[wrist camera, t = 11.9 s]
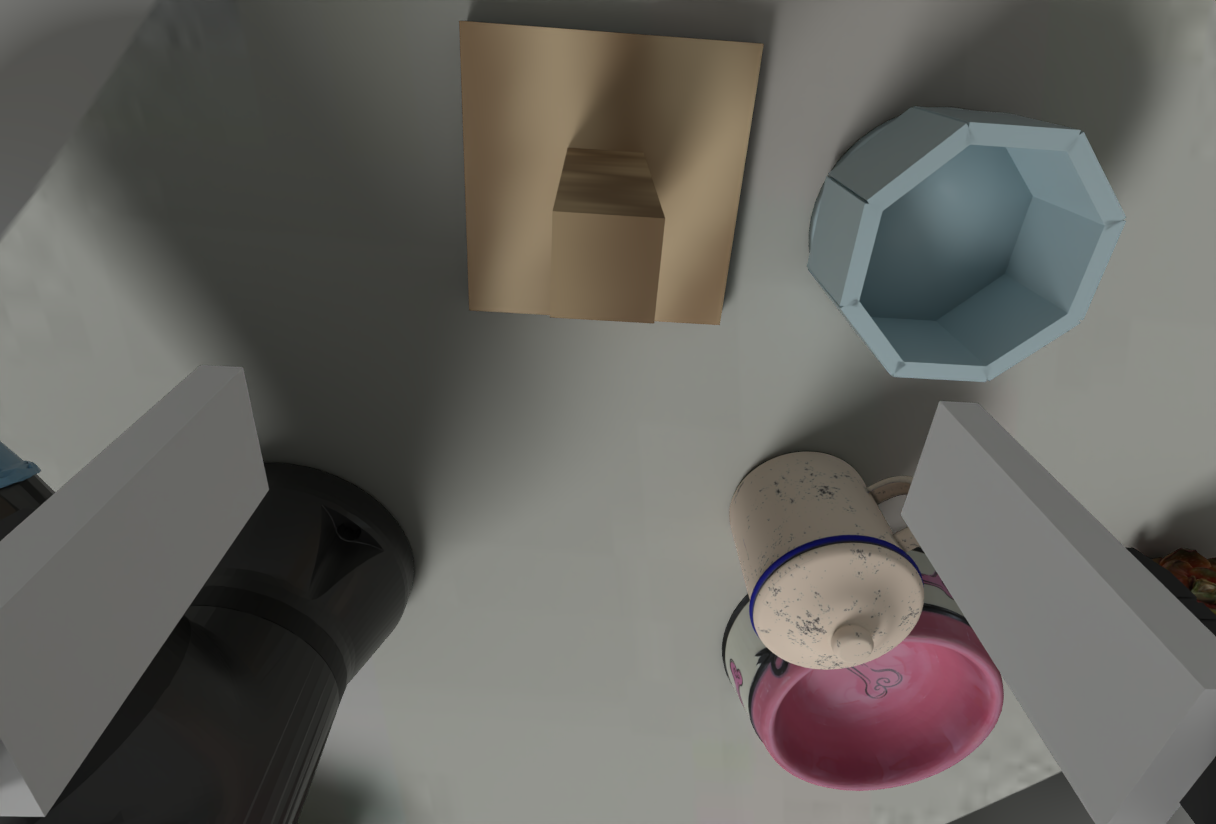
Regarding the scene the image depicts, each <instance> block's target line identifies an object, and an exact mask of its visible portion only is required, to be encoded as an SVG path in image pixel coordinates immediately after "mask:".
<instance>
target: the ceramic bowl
mask: <svg viewBox="0 0 1216 824" xmlns="http://www.w3.org/2000/svg"><path fill="white" fill-rule="evenodd" d="M828 174H829V175H828V177H826V180H825V182H824V184H823V186H822V188H821V190H820V192H819V194H818V197H817V199H816V202H815V205H814V208H813V212H812V216H811V221H810V227H809V253H810V255H809V259H808V264H807V267H808V270H809V272H810V273H811V274H812V276H813V277H814V278H815V280H816V281H817V282H818V284H819V285H820V286H821V287H822V289H823V290H824V292H825V293H826V295H827V296H828V297H829V298H830V299H831V301H832V302H833V303H834V305H835V306H836V307H837V309H838V310H839V311H840V313H841V314H842V315H843V317H844V318H845V319H846V321H847V322H848V323H849V325H850V326H851V327H852V329H853V330H854V331H855V332H856V334H857V335H858V336H859V337H860V338H861V340H862V341H863V342H864V343H865V345H866V346H867V347H868V348H869V350H870V351H871V352H872V353H873V354H874V356H875V357H876V358H877V359H878V361H879V362H880V363H881V364H882V365H883V367H884V368H885V369H886V370H887V372H888V373H889V374H890V375H892V376H893V377H903V378H921V379H939V380H957V381H975V382H986V380H988V381H990V380H992V379H993V378H995V377H996V376H998V375H1000V374H1001V373H1003V372H1004V371H1006V370H1007V369H1009V368H1011V367H1012V366H1014V365H1015V364H1017V363H1018V362H1020V361H1022V360H1023V359H1025V358H1026V357H1028V356H1029V355H1031V354H1033V353H1034V352H1036V351H1037V350H1039V349H1040V348H1042V347H1044V346H1045V345H1047V344H1048V343H1050V342H1051V341H1053V340H1055V339H1056V338H1058V337H1059V336H1061V335H1062V334H1064V333H1066V332H1067V331H1069V330H1070V329H1072V328H1073V327H1075V326H1077V325H1078V324H1080V321H1079V320H1083V319H1084V317H1085V315H1086V312H1087V310H1088V308H1089V305H1090V303H1091V301H1092V298H1093V296H1094V294H1095V291H1096V289H1097V287H1098V285H1099V282H1100V280H1101V278H1102V275H1103V273H1104V271H1105V268H1106V266H1107V264H1108V262H1109V259H1110V257H1111V255H1112V252H1113V250H1114V248H1115V245H1116V243H1117V241H1118V238H1119V236H1120V234H1121V232H1122V229H1123V227H1124V225H1125V222H1126V221H1125V220H1123V219H1125V218H1126V216H1125V214H1124V212H1123V210H1122V208H1121V206H1120V204H1119V202H1118V200H1117V198H1116V196H1115V194H1114V192H1113V190H1112V188H1111V186H1110V184H1109V182H1108V180H1107V178H1106V176H1105V174H1104V172H1103V170H1102V168H1101V166H1100V164H1099V162H1098V160H1097V158H1096V156H1095V153H1094V151H1093V149H1092V147H1091V145H1090V143H1089V141H1088V139H1087V137H1086V135H1085V133H1084V132H1082V131H1081V130H1079V129H1074V128H1070V127H1066V126H1062V125H1057V124H1053V123H1049V122H1045V121H1040V120H1036V119H1032V118H1028V117H1023V116H1019V115H1015V114H1011V113H1002V112H988V111H974V110H967V109H961V108H954V107H919V106H914V108H912V107H910V108H909V109H908V110H907V111H905V112H904V113H903V114H902V115H900V116H898V117H895V118H893V119H891V120H889V121H887V122H885V123H883V124H881V125H880V126H878V127H876V128H874V129H873V130H872V131H870V132H869V133H868V134H866V135H865V136H863V137H862V138H861V139H860V140H859V141H857V142H856V143H855V144H854V145H853V146H852V147H851V148H850V149H849V150H848V151H847V152H846V153H845V154H844V155H843V156H842V158H841V159H840V160H839V161H838V162H837V164H836V165H835V166H834V168H833V169H832V171H831V172H830V173H828Z"/></svg>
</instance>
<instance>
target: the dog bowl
mask: <svg viewBox="0 0 1216 824" xmlns="http://www.w3.org/2000/svg"><path fill="white" fill-rule="evenodd" d="M906 553H907V554H908V555H909V556H910V557H911V558H912V559H913V560H914V562H915V563H916V565H917V566H918V568H919V570H920V572H921V575H922V578H923V584H924V604H923V608H922V612H921V615H920V618H919V620H918V622H917V624H916V625H915V627H914V628H913V630H912V631H911V632H910V633H909V635H908V636H907V637H906V638H905V639H904V640H903V641H902V642H901V643H900V644H898V645H897V646H896V647H895V648H893V649H892V650H890V651H889V652H887V653H886V654H884V655H882V656H880V657H878V658H876V659H874V660H872V661H869V662H866V663H863V664H860V665H857V666H853V667H848V668H842V669H829V670H824V669H811V668H806V667H802V666H798V665H795V664H792V663H789V662H787V661H785V660H783V659H781V658H780V657H778V656H777V655H775V654H774V653H773V652H771V651H770V650H769V649H768V648H767V647H766V646H765V645H764V644H763V642H762V641H761V640H760V639H759V637H758V636H757V634H756V633H755V631H754V629H753V627H752V624H751V620H750V615H749V604H750V599H749V595H748V594H747V595H746V596H745V597H744V598H743V600H742V601H741V603H740V604H739V605H738V606H737V608H736V609H735V611H734V612H733V614H732V616H731V618H730V620H729V622H728V624H727V627H726V630H725V633H724V637H723V642H722V657H723V663H724V667H725V671H726V674H727V676H728V678H729V680H730V682H731V684H732V685H733V687H734V689H735V691H736V693H737V695H738V697H739V699H740V701H741V703H742V704H743V706H744V708H745V710H746V712H747V714H748V716H749V718H750V720H751V723H752V725H753V728H754V730H755V732H756V734H757V735H758V736H759V738H760V739H761V741H762V742H763V743H764V745H765V747H766V748H767V750H768V752H769V753H770V755H771V756H772V757H773V758H774V760H775V761H776V762H777V763H778V764H779V765H780V766H781V767H782V768H784V769H785V770H786V771H788V772H789V773H791V774H792V775H794V776H796V777H798V778H800V779H802V780H804V781H806V782H809V783H812V784H815V785H819V786H823V787H827V788H833V789H840V790H855V791H863V790H877V789H885V788H892V787H897V786H901V785H906V784H909V783H913V782H916V781H919V780H922V779H925V778H928V777H930V776H933V775H935V774H937V773H940V772H942V771H944V770H946V769H948V768H950V767H951V766H953V765H955V764H956V763H958V762H959V761H961V760H962V759H964V758H965V757H966V756H968V755H969V754H970V753H971V752H973V751H974V750H975V749H976V748H977V747H978V746H979V745H980V744H981V743H982V742H983V741H984V740H985V739H986V738H987V736H988V735H989V734H990V732H991V731H992V730H993V728H994V727H995V725H996V723H997V721H998V718H999V716H1000V713H1001V711H1002V706H1003V698H1004V691H1003V683H1002V678H1001V674H1000V672H999V670H998V669H997V667H996V665H995V664H994V662H993V661H992V659H991V657H990V656H989V654H988V653H987V651H986V650H985V648H984V646H983V645H982V643H981V642H980V640H979V638H978V637H977V635H976V634H975V632H974V630H973V629H972V627H971V626H970V624H969V623H968V621H967V619H966V618H965V616H964V615H963V613H962V611H961V610H960V608H959V607H958V605H957V603H956V602H955V600H954V599H953V597H952V596H951V594H950V592H949V591H948V589H947V588H946V586H945V584H944V583H943V581H942V580H941V578H940V577H939V575H938V573H937V572H936V570H935V569H934V567H933V565H932V564H931V562H930V561H929V559H928V557H927V556H926V554H925V553H924V551H923V550H922V548H919V547H916V548H914V549H912V550H910V551H908V552H906Z"/></svg>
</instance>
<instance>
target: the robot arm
mask: <svg viewBox="0 0 1216 824" xmlns="http://www.w3.org/2000/svg"><path fill="white" fill-rule="evenodd" d="M40 471H41V469H40V468H39V467H38V466H37V465H36V464H35V463H33V462H30V461H23V460H22V459H21V458H19V457H18V456H17V455H16V454H15V453H14V452H12V451H11V450H10V449H9V448H8V447H7V446H5V445H4V444H3V443H2V442H1V441H0V824H297V822H298V819H299V816H300V813H301V811H302V808H303V805H304V802H305V799H306V797H307V794H308V791H309V788H310V785H311V783H312V780H313V777H314V774H315V771H316V769H317V766H318V763H319V760H320V757H321V755H322V752H323V749H324V746H325V743H326V741H327V738H328V735H329V732H330V729H331V727H332V724H333V721H334V718H335V715H336V712H337V709H338V706H339V704H340V701H341V699H342V696H343V694H344V691H345V689H346V686H347V684H348V683H349V682H350V681H351V680H352V678H353V677H354V676H355V675H356V674H357V673H358V671H359V670H360V669H361V668H362V667H363V666H364V664H365V663H366V662H367V661H368V660H369V659H370V657H371V656H372V655H373V654H374V653H375V651H376V650H377V649H378V648H379V647H380V645H381V644H382V643H383V642H384V640H385V639H386V638H387V637H388V636H389V635H390V634H391V632H392V631H393V630H394V629H395V627H396V626H397V624H398V622H399V620H400V618H401V617H402V615H403V612H404V609H405V607H406V604H407V601H408V598H409V594H410V591H411V588H412V585H413V580H414V561H413V555H412V551H411V548H410V545H409V543H408V540H407V538H406V536H405V534H404V532H403V531H402V529H401V528H400V526H399V525H398V523H397V522H396V521H395V519H394V518H393V517H392V516H391V515H390V513H389V512H388V511H387V510H386V509H385V508H384V507H383V506H382V505H381V504H379V503H378V502H377V501H376V500H375V499H373V498H372V497H371V496H370V495H368V494H367V493H365V492H364V491H362V490H361V489H359V488H358V487H356V486H354V485H352V484H351V483H349V482H347V481H345V480H343V479H340V478H338V477H336V476H333V475H331V474H328V473H325V472H322V471H319V470H316V469H312V468H308V467H303V466H298V465H291V464H281V463H263V459H262V454H261V449H260V444H259V440H258V435H257V430H256V425H255V421H254V416H253V411H252V406H251V402H250V397H249V392H248V388H247V383H246V378H245V373H244V369H243V367H232V366H212V365H200V366H198V367H197V368H196V369H195V370H194V371H193V372H192V373H190V374H189V375H188V376H187V377H186V378H185V379H184V380H183V381H181V382H180V383H179V384H178V385H177V386H176V387H175V388H173V389H172V390H171V391H170V392H169V393H168V394H167V395H166V396H164V397H163V398H162V399H161V400H160V401H159V402H158V403H156V404H155V405H154V406H153V407H152V408H151V409H150V410H149V411H147V412H146V413H145V414H144V415H143V416H142V417H141V418H139V419H138V420H137V421H136V422H135V423H134V424H133V425H132V426H130V427H129V428H128V429H127V430H126V431H125V432H124V433H122V434H121V435H120V436H119V437H118V438H117V439H116V440H114V441H113V442H112V443H111V444H110V445H109V446H108V447H107V448H105V449H104V450H103V451H102V452H101V453H100V454H99V455H97V456H96V457H95V458H94V459H93V460H92V461H91V462H90V463H88V464H87V465H86V466H85V467H84V468H83V469H82V470H80V471H79V472H78V473H77V474H76V475H75V476H74V477H73V478H71V479H70V480H69V481H68V482H67V483H66V484H65V485H63V486H62V487H61V488H60V489H59V490H58V491H57V492H56V493H55V492H54V491H53V490H52V489H51V488H50V487H49V486H48V485H47V484H46V483H45V482H44V481H43V480H42V479H41V478H40V477H39V476H38V475H37V473H39V472H40ZM901 516H902V518H903V519H904V521H905V523H906V524H907V526H908V527H909V529H910V531H911V532H912V534H913V535H914V537H915V538H916V540H917V542H918V543H919V545H920V546H921V548H922V550H923V551H924V553H925V554H926V556H927V557H928V559H929V561H930V562H931V564H932V565H933V567H934V569H935V570H936V572H937V573H938V575H939V577H940V578H941V580H942V581H943V583H944V584H945V586H946V588H947V589H948V591H949V592H950V594H951V596H952V597H953V599H954V600H955V602H956V603H957V605H958V607H959V608H960V610H961V611H962V613H963V615H964V616H965V618H966V619H967V621H968V623H969V624H970V626H971V627H972V629H973V630H974V632H975V634H976V635H977V637H978V638H979V640H980V642H981V643H982V645H983V646H984V648H985V650H986V651H987V653H988V654H989V656H990V657H991V659H992V661H993V662H994V664H995V665H996V667H997V669H998V670H999V672H1000V673H1001V675H1002V676H1003V678H1004V680H1005V681H1006V683H1007V684H1008V686H1009V688H1010V689H1011V691H1012V692H1013V694H1014V696H1015V697H1016V699H1017V700H1018V702H1019V703H1020V705H1021V707H1022V708H1023V710H1024V711H1025V713H1026V715H1027V716H1028V718H1029V719H1030V721H1031V723H1032V724H1033V726H1034V727H1035V729H1036V730H1037V732H1038V734H1039V735H1040V737H1041V738H1042V740H1043V742H1044V743H1045V745H1046V746H1047V748H1048V749H1049V751H1050V753H1051V754H1052V756H1053V757H1054V759H1055V761H1056V762H1057V764H1058V765H1059V767H1060V769H1061V770H1062V772H1063V773H1064V775H1065V776H1066V778H1067V780H1068V781H1069V783H1070V784H1071V786H1072V787H1073V789H1074V791H1075V792H1076V794H1077V795H1078V797H1079V799H1080V800H1081V802H1082V803H1083V805H1084V807H1085V808H1086V810H1087V811H1088V813H1089V815H1090V816H1091V818H1092V819H1093V821H1094V822H1095V824H1166V823H1167V822H1168V820H1169V819H1170V818H1171V816H1172V815H1173V814H1174V813H1175V812H1176V810H1177V809H1178V808H1179V806H1180V805H1182V807H1183V808H1184V809H1185V811H1186V812H1187V813H1188V815H1189V816H1190V817H1191V819H1192V820H1193V821H1194V823H1195V824H1216V615H1215V614H1214V613H1213V612H1212V611H1211V610H1210V609H1209V608H1208V607H1207V606H1206V605H1205V604H1204V603H1201V602H1197V597H1196V596H1195V595H1194V594H1193V593H1192V592H1191V591H1190V590H1189V589H1188V588H1187V587H1186V586H1185V585H1184V584H1183V583H1182V582H1180V581H1179V580H1178V579H1177V578H1176V577H1175V576H1174V575H1173V574H1172V573H1171V572H1170V571H1169V570H1167V569H1165V568H1164V567H1162V566H1161V565H1159V564H1158V563H1156V562H1154V561H1153V560H1151V559H1150V558H1148V557H1146V556H1145V555H1143V554H1142V553H1140V552H1139V551H1137V550H1135V549H1134V548H1125V547H1124V546H1123V545H1122V544H1121V543H1120V542H1119V541H1118V540H1117V539H1116V538H1115V537H1114V536H1113V535H1112V534H1111V533H1110V532H1109V531H1108V530H1107V529H1106V528H1105V527H1104V526H1103V525H1102V524H1101V523H1100V522H1099V521H1098V520H1097V519H1096V518H1095V517H1094V516H1093V515H1092V514H1091V513H1089V512H1088V511H1087V510H1086V509H1085V508H1084V507H1083V506H1082V505H1081V504H1080V503H1079V502H1078V501H1077V500H1076V499H1075V498H1074V497H1073V496H1072V495H1071V494H1070V493H1069V492H1068V491H1067V490H1066V489H1065V488H1064V487H1063V486H1062V485H1061V484H1060V483H1059V482H1058V481H1057V480H1056V479H1055V478H1054V477H1053V476H1052V475H1051V474H1050V473H1049V472H1048V471H1047V470H1046V469H1045V468H1044V467H1043V466H1042V465H1041V464H1040V463H1039V462H1038V461H1037V460H1036V459H1035V458H1034V457H1032V456H1031V455H1030V454H1029V453H1028V452H1027V451H1026V450H1025V449H1024V448H1023V447H1022V446H1021V445H1020V444H1019V443H1018V442H1017V441H1016V440H1015V439H1014V438H1013V437H1012V436H1011V435H1010V434H1009V433H1008V432H1007V431H1006V430H1005V429H1004V428H1003V427H1002V426H1001V425H1000V424H999V423H998V422H997V421H996V420H995V419H994V418H993V417H992V416H991V415H990V414H989V413H988V412H987V411H986V410H985V409H984V408H983V407H982V406H981V405H980V404H979V403H971V402H950V401H939V404H938V407H937V410H936V413H935V416H934V418H933V421H932V424H931V427H930V430H929V433H928V436H927V439H926V442H925V445H924V448H923V451H922V454H921V457H920V459H919V462H918V465H917V468H916V471H915V474H914V477H913V480H912V483H911V486H910V489H909V492H908V495H907V498H906V500H905V503H904V506H903V509H902V512H901Z"/></svg>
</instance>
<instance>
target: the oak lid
mask: <svg viewBox="0 0 1216 824" xmlns="http://www.w3.org/2000/svg"><path fill="white" fill-rule="evenodd" d="M459 27H460V56H461V85H462V114H463V144H464V173H465V202H466V231H467V260H468V289H469V310H470V311H488V312H505V313H522V314H539V315H550V317H553V318H570V319H587V320H605V321H622V322H639V323H654V321H660V322H677V323H695V324H712V325H720V319H721V313H722V307H723V300H724V294H725V287H726V281H727V275H728V268H729V262H730V256H731V249H732V243H733V236H734V230H735V224H736V217H737V211H738V205H739V198H740V192H741V185H742V179H743V173H744V166H745V160H746V154H747V147H748V141H749V135H750V128H751V122H752V115H753V109H754V103H755V96H756V90H757V84H758V77H759V71H760V64H761V58H762V52H763V45H764V44H761V43H748V42H735V41H722V40H708V39H695V38H682V37H669V36H656V35H642V34H629V33H616V32H603V31H590V30H576V29H563V28H550V27H537V26H524V25H510V24H497V23H484V22H471V21H459Z"/></svg>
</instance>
